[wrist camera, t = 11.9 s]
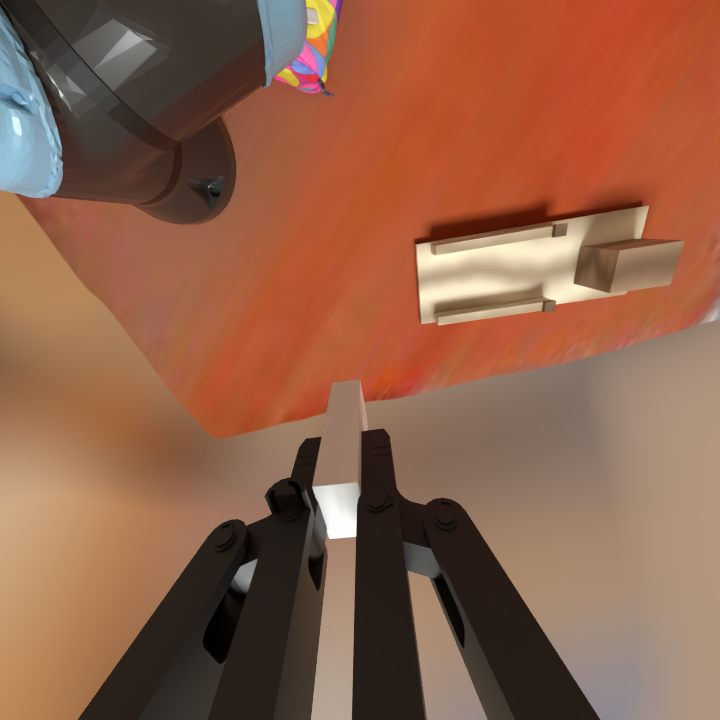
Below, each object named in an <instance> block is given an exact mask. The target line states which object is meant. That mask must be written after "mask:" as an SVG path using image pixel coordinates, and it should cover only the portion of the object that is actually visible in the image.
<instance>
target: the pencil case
mask: <svg viewBox="0 0 720 720" xmlns="http://www.w3.org/2000/svg"><path fill="white" fill-rule="evenodd" d="M341 6H342V0H306V7H307V17H308V27H307V37H306V41H305V45H304V49H303V51H302V53H301V54H300V56H299V57H298V58H297V59H296V60H295V61H294V62H292V63H291V64H290V65H289V66H287V67H286V68H285V69H284V70H282V71H281V72H280V73H279V74H277V75H276V76H275V77H274V78H275V79H277V80H279V81H282V82H284V83H287V84H290V85H291V86H293V87H295V88H297V89H299V90H301V91H303V92H306V93H317V92H320V91H322V92H323V93H324V94H325V95H326V96H329V97H332V96H333V95H334V94H331V93H329V92H327V91H326V90H325V85H326V82H327V65H328V61H329V59H330V56H331V54H332V50H333V45H334V42H335V37H336V32H337V27H338V22H339V17H340V12H341Z"/></svg>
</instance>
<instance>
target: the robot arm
mask: <svg viewBox="0 0 720 720" xmlns="http://www.w3.org/2000/svg"><path fill="white" fill-rule="evenodd" d="M307 27H308V17H307V7H306V0H0V190H2V191H7V192H13V193H18V194H22V195H24V196H28V197H33V198H43V197H58V198H68V199H79V200H90V201H100V202H111V203H122V204H131V205H133V206H135V207H137V208H139V209H140V210H142V211H144V212H146V213H147V214H149V215H151V216H153V217H155V218H157V219H160V220H162V221H166V222H169V223H174V224H190V225H192V224H200V223H204V222H207V221H209V220H211V219H213V218H215V217H216V216H217V215H219V214H220V213H221V212H222V211H223V210H224V208H225V207H226V206H227V204H228V202H229V201H230V198H231V196H232V193H233V190H234V186H235V180H236V162H235V155H234V150H233V146H232V143H231V140H230V137H229V135H228V132H227V130H226V128H225V126H224V124H223V122H222V121H221V119H220V117H219V116H220V115H222V114H223V113H225V112H226V111H227V110H229V109H230V108H232V107H233V106H234V105H236V104H237V103H239V102H240V101H241V100H243V99H244V98H246V97H247V96H248V95H250V94H251V93H253V92H254V91H255V90H257V89H258V88H260V87H261V86H262V87H263V88H264V89H265V88H267V87H269V85H270V84H271V82H272V79H273V78H274V77H275V76H276V75H277V74H279V73H280V72H281V71H282V70H284V69H285V68H286V67H287V66H289V65H290V64H291V63H292V62H294V61H295V60H296V59H297V58H298V57H299V56H300V54H301V53H302V51H303V49H304V45H305V41H306V37H307ZM265 499H266V501H267V503H268V505H269V508H270V510H271V512H272V514H271V515H270V516H268V517H266V518H264V519H262V520H259V521H257V522H254V523H252V524H249V525H247V526H246V525H245V523H244V522H243V521H241V520H239V519H236V520H229V521H227V522H224V523H222V524H221V525H219V526H218V527H217V528H215V529H214V530H213V531H212V533H211V534H210V535H209V536H208V537H207V539H206V540H205V542H204V543H203V544H202V546H201V547H200V549H199V550H198V551H197V553H196V554H195V556H194V557H193V558H192V560H191V561H190V563H189V564H188V565H187V567H186V568H185V570H184V571H183V572H182V574H181V575H180V577H179V578H178V579H177V581H176V582H175V584H174V585H173V587H172V588H171V589H170V591H169V592H168V593H167V595H166V596H165V598H164V599H163V600H162V602H161V603H160V605H159V606H158V607H157V609H156V610H155V612H154V613H153V615H152V616H151V617H150V619H149V620H148V622H147V623H146V624H145V626H144V627H143V629H142V630H141V631H140V633H139V634H138V636H137V637H136V639H135V640H134V641H133V643H132V644H131V646H130V647H129V648H128V650H127V651H126V653H125V654H124V656H123V657H122V658H121V660H120V661H119V662H118V664H117V665H116V667H115V668H114V670H113V671H112V672H111V674H110V675H109V677H108V678H107V679H106V681H105V682H104V683H103V685H102V686H101V688H100V689H99V690H98V692H97V693H96V695H95V696H94V698H93V699H92V701H91V702H90V703H89V705H88V706H87V707H86V709H85V710H84V712H83V713H82V714H81V716H80V717H79V719H78V720H311V712H312V702H313V693H314V682H315V673H316V664H317V654H318V644H319V635H320V625H321V616H322V606H323V596H324V587H325V577H326V567H327V558H328V556H327V548H326V545H325V540H326V531H327V533H328V536H329V539H334V538H345V537H356V569H355V614H354V617H355V618H354V658H353V699H352V700H353V701H352V720H427V717H426V710H425V702H424V694H423V687H422V679H421V671H420V663H419V656H418V649H417V640H416V632H415V625H414V617H413V609H412V601H411V593H410V585H409V578H408V571H411V572H414V573H418V574H421V575H424V576H428V577H430V580H431V582H432V585H433V587H434V590H435V592H436V595H437V597H438V599H439V602H440V604H441V607H442V609H443V611H444V614H445V616H446V619H447V621H448V624H449V626H450V629H451V631H452V633H453V636H454V638H455V641H456V643H457V646H458V648H459V651H460V653H461V655H462V658H463V660H464V663H465V665H466V667H467V670H468V672H469V675H470V677H471V680H472V682H473V685H474V687H475V689H476V692H477V694H478V697H479V699H480V702H481V704H482V707H483V709H484V712H485V714H486V716H487V719H488V720H600V719H599V717H598V716H597V714H596V712H595V711H594V709H593V708H592V706H591V705H590V703H589V702H588V700H587V698H586V697H585V695H584V694H583V692H582V691H581V689H580V688H579V686H578V685H577V683H576V681H575V680H574V678H573V677H572V675H571V674H570V672H569V671H568V669H567V667H566V666H565V664H564V663H563V661H562V660H561V658H560V657H559V655H558V653H557V652H556V650H555V649H554V647H553V646H552V644H551V643H550V641H549V640H548V638H547V636H546V635H545V633H544V632H543V630H542V629H541V627H540V626H539V624H538V622H537V621H536V619H535V618H534V616H533V615H532V613H531V612H530V610H529V609H528V607H527V605H526V604H525V602H524V601H523V599H522V598H521V596H520V594H519V593H518V591H517V590H516V588H515V587H514V585H513V584H512V582H511V581H510V579H509V577H508V576H507V574H506V573H505V571H504V570H503V568H502V567H501V565H500V563H499V562H498V560H497V559H496V557H495V556H494V554H493V553H492V551H491V550H490V548H489V546H488V545H487V543H486V542H485V540H484V539H483V537H482V536H481V534H480V532H479V531H478V529H477V528H476V526H475V525H474V523H473V522H472V520H471V518H470V517H469V516H468V514H467V512H466V511H465V510H464V509H463V508H462V506H461V505H460V504H458V503H457V502H455V501H453V500H451V499H446V498H439V499H438V498H437V499H433V500H432V501H430V502H428V503H427V505H423V504H418V503H414V502H411V501H409V500H407V499H405V498H404V497H403V496H402V495H401V494H400V493H399V491H398V490H397V487H396V480H395V472H394V464H393V457H392V450H391V443H390V436H389V435H388V433H387V432H386V431H385V430H384V429H376V430H369V431H368V427H367V416H366V410H365V405H364V399H363V394H362V388H361V383H360V379H358V380H350V381H343V382H336V383H332V387H331V392H330V397H329V402H328V407H327V413H326V418H325V424H324V428H323V433H322V437H316V438H307V439H305V441H304V442H303V443H302V445H301V446H300V447H299V450H298V453H297V459H296V460H295V464H294V467H293V471H292V474H291V478H286V479H282V480H280V481H279V482H277V483H275V484H274V485H273V486H272V487H271V488H270V489H269V490H268V491H267V493H266V495H265Z"/></svg>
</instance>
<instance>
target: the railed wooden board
mask: <svg viewBox="0 0 720 720" xmlns="http://www.w3.org/2000/svg"><path fill="white" fill-rule="evenodd" d="M648 208H649V206H641V207H635V208H629V209H623V210H617V211H611V212H605V213H599V214H593V215H587V216H581V217H575V218H569V219H563V220H558V221H552V222H546V223H540V224H534V225H528V226H522V227H516V228H510V229H504V230H498V231H492V232H486V233H480V234H474V235H468V236H462V237H456V238H450V239H444V240H438V241H432V242H426V243H420V244H415V250H416V265H417V281H418V296H419V311H420V322H421V324H425V323H431V322H436V323H437V324H438V325H445V324H451V323H458V322H465V321H472V320H479V319H486V318H493V317H500V316H507V315H514V314H521V313H527V312H534V311H541V310H542V311H543V312H550V311H555V306H556V304H562V303H569V302H576V301H582V300H589V299H596V298H603V297H610V296H617V295H624V294H626V293H627V291H623V292H615V293H606V292H603V291H599V290H595V289H591V288H588V287H584V286H580V285H576V284H573V283H574V277H575V271H576V266H577V260H578V255H579V249H580V247H583V246H589V245H596V244H602V243H608V242H615V241H621V240H628V239H641V235H642V231H643V228H644V224H645V220H646V216H647V212H648Z"/></svg>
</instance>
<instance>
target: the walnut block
mask: <svg viewBox="0 0 720 720" xmlns="http://www.w3.org/2000/svg"><path fill="white" fill-rule="evenodd" d="M684 241H685V240H660V239H628V240H621V241H615V242H608V243H602V244H596V245H589V246H583V247H580V249H579V255H578V260H577V266H576V271H575V277H574V283H573V284H576V285H580V286H584V287H588V288H591V289H595V290H599V291H603V292H606V293H615V292H623V291H630V290H637V289H644V288H651V287H658V286H665V285H670V284H671V281H672V278H673V275H674V272H675V269H676V266H677V263H678V259H679V256H680V253H681V250H682V247H683V244H684Z"/></svg>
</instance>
